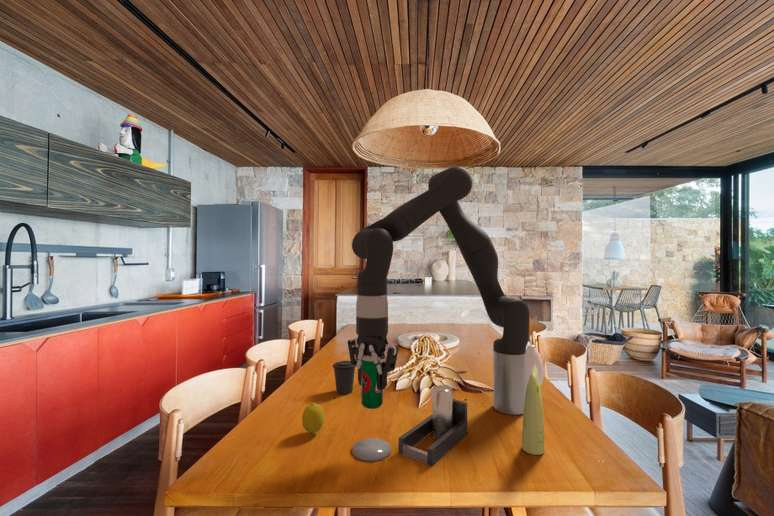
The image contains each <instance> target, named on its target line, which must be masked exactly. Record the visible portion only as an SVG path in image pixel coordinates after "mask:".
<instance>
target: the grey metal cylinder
mask: <svg viewBox="0 0 774 516" xmlns="http://www.w3.org/2000/svg"><path fill="white" fill-rule="evenodd" d="M453 390H454V389H453V388H452V387H451V386H449V385H443V384H442V385H441V384H440V385H434V386H433V387H432V414H433V432H432V438H433V437H434V438H435V439H434V438H433V439H434V440H435V441H437V440H438V439H439V438H441V437H442V436H443V435H444V434H445V433H447V432H448V431H449V430H450V429H451V428H453V399H454V398H453V397H454V396H453V392H454V391H453Z"/></svg>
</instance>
